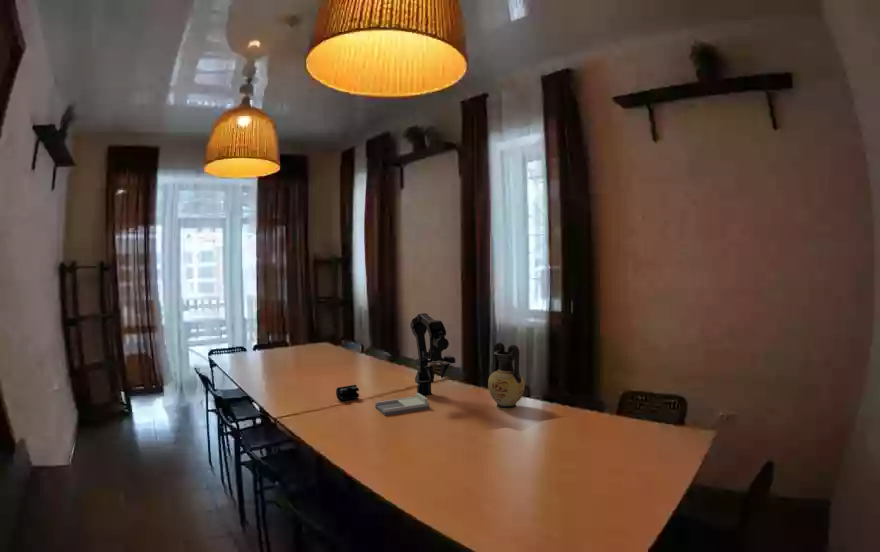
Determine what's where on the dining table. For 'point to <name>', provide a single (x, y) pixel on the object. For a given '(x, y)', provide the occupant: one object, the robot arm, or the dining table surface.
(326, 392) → the dining table surface
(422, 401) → the sage shutter
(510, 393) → the amphora
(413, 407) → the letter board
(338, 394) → the end cap
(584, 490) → the dining table surface
